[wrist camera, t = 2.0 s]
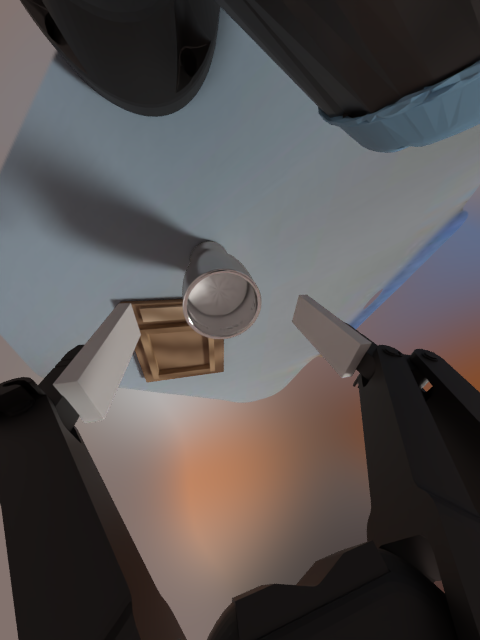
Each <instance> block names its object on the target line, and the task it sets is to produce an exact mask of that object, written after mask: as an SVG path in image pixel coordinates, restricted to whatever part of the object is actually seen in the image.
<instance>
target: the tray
mask: <svg viewBox="0 0 480 640" xmlns="http://www.w3.org/2000/svg"><path fill="white" fill-rule="evenodd" d="M121 303H131V305H132V308H133V311H134V315H135V318H136V321H137V324H138V327H139V330H140V333H141V336H140V338H139V340H138V343H137V345H136V347H135V352H136V355H137V357H138V360H139V363H140V365H141V368H142V371H143V373H144V376H145V379H146V382H153V381H160V380H168V379H175V378H182V377H189V376H196V375H203V374H211V373H218V372H224V339H212V338H208V337H205V336H202V335H200V334H198V333H197V332H195V331H194V330H193V329H192V328H191V327H190V326H189V324H188V323H187V321H186V319H185V317H184V314H183V308H182V304H183V299H171V300H148V301H125V302H120V304H121Z"/></svg>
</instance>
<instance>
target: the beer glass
mask: <svg viewBox="0 0 480 640" xmlns="http://www.w3.org/2000/svg"><path fill="white" fill-rule="evenodd" d="M182 299H183V304H182V308H183V314H184V317H185V319H186V321H187V323H188V324H189V326H190V327H191V328H192V329H193V330H194V331H195V332H197V333H198V334H200V335H202V336H205V337H208V338H212V339H227V338H232V337H235V336H237V335H239V334H241V333H243V332H245V331H246V330H247V329H248V328H250V327H251V326H252V325H253V323H254V322H255V321H256V319H257V317H258V315H259V313H260V309H261V294H260V291H259V289H258V287H257V285H256V283H255V282H254V281H253V279H252V277H251V275H250V274H249V272H248V271H247V269H246V268H245V267H244V265H243V264H242V263H241V262H240V261H239V260H238V259H236V258H235V257H234V256H232V255H230V254H228V253H227V251H226V250H225V248H224V247H223V246H221V245H220V244H218V243H216V242H213V241H205V242H202V243H200V244H198V245H197V246H196V247H195V248H194V249H193V251H192V252H191V255H190V264H189V266H188V267H187V269H186V272H185V275H184V279H183V286H182Z"/></svg>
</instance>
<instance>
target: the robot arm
mask: <svg viewBox="0 0 480 640" xmlns="http://www.w3.org/2000/svg"><path fill="white" fill-rule="evenodd" d="M20 1H21V3H22V4H23V6H24V7H25V9H26V10H27V11H28V13H29V14H30V16H31V17H32V18H33V20H34V21H35V23H36V24H37V26H38V27H39V28H40V30H41V31H42V32H43V34H44V35H45V36H46V37H47V39H48V40H49V41H50V42H51V43H52V45H53V46H54V47H55V48H56V50H57V51H58V52H59V53H60V54H61V55H62V57H63V58H64V59H65V60H66V61H67V62H68V63H69V65H70V66H71V67H72V68H73V69H74V70H75V71H76V72H77V73H78V74H79V75H80V77H81V78H82V79H83V80H85V81H86V82H87V83H88V84H89V85H90V86H91V87H92V88H93V89H94V90H96V91H97V92H98V93H99V94H101V95H102V96H103V97H105V98H106V99H108V100H109V101H111V102H112V103H114V104H116V105H117V106H119V107H121V108H123V109H125V110H127V111H130V112H133V113H136V114H139V115H144V116H155V117H157V116H164V115H169V114H172V113H174V112H176V111H178V110H180V109H181V108H183V107H184V106H186V105H187V104H188V103H189V102H190V101H191V100H192V99H193V98H194V96H195V95H196V94H197V92H198V91H199V89H200V88H201V86H202V84H203V82H204V80H205V78H206V76H207V73H208V71H209V68H210V65H211V62H212V58H213V54H214V49H215V44H216V37H217V29H218V22H219V13H220V7H221V8H222V9H223V10H224V11H225V12H226V13H227V14H228V15H229V16H230V17H231V18H232V19H233V20H234V21H235V22H236V23H237V24H238V25H239V26H240V27H241V28H242V29H243V30H244V31H245V32H246V33H247V34H248V35H249V36H250V37H251V38H252V39H253V40H254V41H255V42H256V43H257V44H258V45H259V46H260V47H261V48H262V49H263V51H264V52H265V53H266V54H267V55H268V56H269V57H270V58H271V59H272V60H273V61H274V62H275V63H276V64H277V65H278V66H279V67H280V68H281V69H282V70H283V71H284V72H285V73H286V74H287V75H288V76H289V77H290V78H291V79H292V80H293V81H294V82H295V83H296V84H297V85H298V86H299V87H300V88H301V89H302V90H303V91H304V92H305V93H306V94H307V95H308V97H309V98H310V99H311V100H312V101H313V102H314V103H315V104H316V105H317V106H318V109H319V114H320V116H321V117H322V118H323V120H325V121H326V122H328V123H329V124H331V125H335V126H339V127H340V128H342V129H343V130H344V131H345V132H346V133H347V134H349V135H350V136H351V137H352V138H353V139H354V140H356V141H357V142H358V143H359V144H360V145H362V146H363V147H365V148H367V149H369V150H372V151H376V152H385V153H388V152H396V151H400V150H403V149H405V148H407V147H409V146H414V147H418V146H421V147H422V146H426V145H429V144H432V143H435V142H438V141H440V140H443V139H446V138H448V137H451V136H453V135H456V134H458V133H460V132H463V131H465V130H467V129H470V128H472V127H474V126H476V125H478V124H480V0H20ZM292 322H293V323H294V324H295V326H296V327H297V328H298V329H299V330H300V331H301V332H302V334H303V335H304V336H305V337H306V338H307V339H308V340H309V341H310V343H311V344H312V345H313V346H314V347H315V348H316V349H317V350H318V352H319V353H320V354H321V355H322V356H323V357H324V358H325V359H326V361H327V362H328V363H329V364H330V365H331V366H332V367H333V368H334V369H335V371H336V372H337V373H338V374H339V375H340V376H341V377H342V378H345V377H350V376H352V375H353V374H354V372H355V370H357V371H359V373H360V374H359V376H358V377H357V379H356V380H355V382H354V384H353V386H355V385H356V384H359V386H358V388H359V393H360V403H361V412H362V421H363V431H364V440H365V450H366V459H367V469H368V478H369V488H370V497H371V513H370V516H369V519H368V523H367V542H365V543H362V544H359V545H356V546H353V547H350V548H347V549H344V550H341V551H338V552H336V553H334V554H331V555H329V556H327V557H325V558H322V559H320V560H318V561H316V562H315V563H314V564H313V565H312V567H311V568H310V569H309V570H308V571H307V572H306V574H305V575H304V576H303V577H302V578H301V579H300V581H299V582H298V583H297V584H296V585H284V584H269V585H261V586H259V587H256V588H254V589H252V590H250V591H248V592H245V593H243V594H241V595H238V596H236V597H234V598H232V603H231V604H230V605H229V606H228V607H227V608H226V610H225V611H224V612H223V613H222V615H221V616H220V618H219V619H218V620H217V622H216V624H215V625H214V627H213V629H212V631H211V632H210V634H209V636H208V639H207V640H480V392H479V391H478V390H476V389H475V388H474V387H473V386H472V385H471V384H470V383H469V382H468V381H467V380H465V379H464V378H463V377H462V376H461V375H460V374H459V373H458V372H457V371H456V370H454V369H453V368H452V367H451V366H450V365H449V364H448V363H447V362H446V361H445V360H444V359H442V358H441V357H440V356H438V355H436V354H435V353H433V352H430V351H428V350H423V349H416V350H414V352H413V353H412V354H411V355H404V354H402V353H401V352H400V351H398V350H396V349H395V348H392V347H390V346H386V345H379V346H377V345H376V344H375V343H374V342H372V341H371V340H369V339H368V338H367V337H365V336H364V335H363V334H361V333H359V332H358V331H357V330H355V329H354V328H353V327H352V326H350V325H349V324H347V323H345V322H343V321H342V320H340V319H339V318H337V317H336V316H335V315H333V314H332V313H331V312H329V311H328V310H327V309H325V308H324V307H323V306H321V305H320V304H319V303H317V302H316V301H315V300H313V299H312V298H311V297H309V296H308V295H299V297H298V301H297V305H296V309H295V313H294V316H293V320H292ZM140 336H141V333H140V330H139V327H138V324H137V321H136V318H135V315H134V311H133V308H132V305H131V303H121V304H118V305H117V306H116V307H115V308H114V310H113V311H112V312H111V313H110V315H109V316H108V317H107V318H106V320H105V321H104V322H103V323H102V324H101V326H100V327H99V328H98V329H97V331H96V332H95V333H94V334H93V335H92V337H91V338H90V339H89V340H88V342H87V343H86V344H85V345H78V346H76V347H75V348H73V349H72V350H70V351H69V352H68V353H67V354H66V355H65V356H64V357H63V358H62V359H61V361H59V363H58V364H57V365H56V366H55V368H53V369H52V370H51V372H50V373H49V374H48V375H47V376H46V377H45V378H44V379H43V381H42V382H41V383H40V384H39V385H37V384H36V383H35V382H34V381H33V380H32V379H31V378H27V377H21V378H16V379H12V380H9V381H6V382H3V383H1V384H0V503H1V508H2V516H3V524H4V531H5V539H6V547H7V554H8V562H9V569H10V577H11V585H12V592H13V601H14V607H15V616H16V623H17V631H18V639H19V640H187V639H186V637H185V635H184V634H183V631H182V629H181V628H180V626H179V624H178V622H177V620H176V618H175V616H174V614H173V612H172V611H171V609H170V607H169V606H168V604H167V603H166V601H165V600H164V599H163V597H162V596H161V595H160V593H159V591H158V590H157V588H156V586H155V584H154V582H153V580H152V578H151V576H150V574H149V572H148V570H147V568H146V566H145V564H144V562H143V560H142V558H141V556H140V554H139V552H138V550H137V548H136V546H135V544H134V542H133V540H132V538H131V536H130V534H129V532H128V530H127V528H126V526H125V524H124V522H123V520H122V518H121V516H120V514H119V512H118V510H117V508H116V506H115V504H114V502H113V500H112V498H111V496H110V494H109V492H108V490H107V488H106V486H105V484H104V482H103V480H102V478H101V476H100V474H99V472H98V470H97V468H96V466H95V464H94V462H93V460H92V458H91V456H90V454H89V452H88V450H87V448H86V446H85V444H84V442H83V440H82V438H81V436H80V434H79V432H78V430H77V428H76V427H75V426H74V425H75V423H76V421H77V420H78V418H79V417H80V418H81V419H82V420H83V422H84V423H90V422H96V421H101V420H104V419H105V417H106V415H107V412H108V410H109V408H110V405H111V403H112V400H113V398H114V396H115V394H116V391H117V389H118V387H119V384H120V382H121V380H122V377H123V375H124V373H125V370H126V368H127V366H128V363H129V361H130V359H131V356H132V354H133V352H134V350H135V347H136V345H137V343H138V340H139V338H140ZM428 382H430V383H431V384H432V386H433V387H432V388H430V389H429V390H428V391H427V392H426V391H425V390H424V389H423V387H424V386H425V385H426V384H427V383H428ZM440 580H442V584H443V587H444V591H445V593H444V592H442V591H441V590H440V589H439V588H438V587H437V586H436V585H435V584H434V582H435V581H440Z"/></svg>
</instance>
